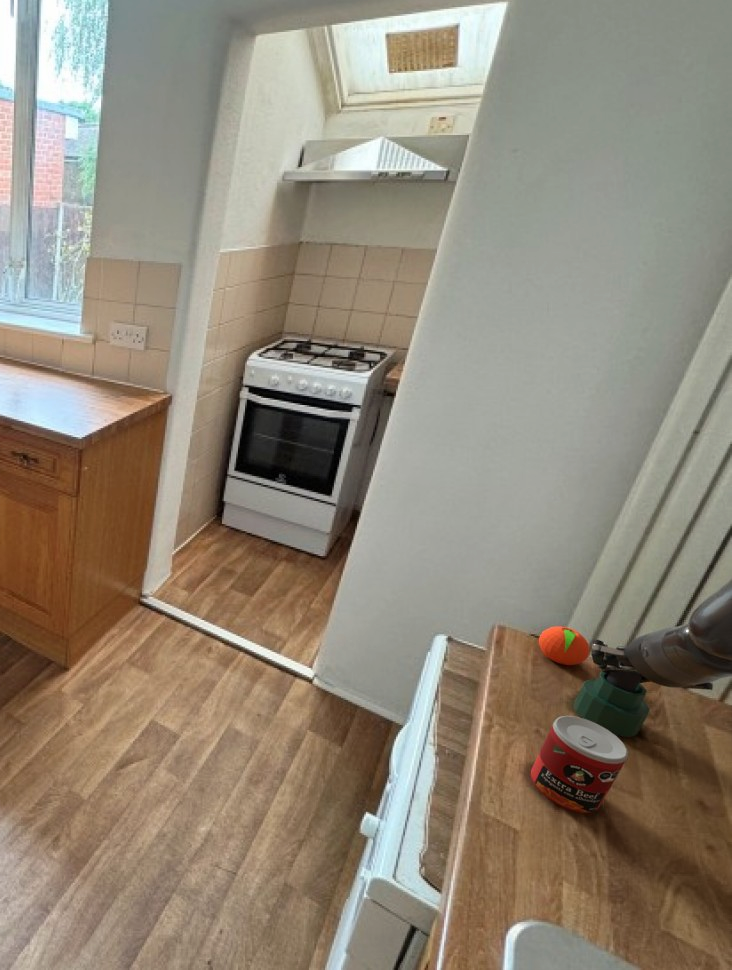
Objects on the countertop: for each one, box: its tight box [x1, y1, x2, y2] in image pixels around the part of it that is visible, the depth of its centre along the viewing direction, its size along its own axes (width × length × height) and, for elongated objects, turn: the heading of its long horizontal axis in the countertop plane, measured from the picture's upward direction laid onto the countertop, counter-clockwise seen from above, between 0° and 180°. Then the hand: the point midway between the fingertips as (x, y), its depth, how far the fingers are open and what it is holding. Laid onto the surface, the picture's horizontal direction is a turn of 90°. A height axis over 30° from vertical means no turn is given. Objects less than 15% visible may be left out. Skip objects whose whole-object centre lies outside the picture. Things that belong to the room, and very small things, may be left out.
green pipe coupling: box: [573, 671, 651, 738], centre depth 100 cm, size 8×8×8 cm
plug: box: [606, 670, 643, 693], centre depth 98 cm, size 3×3×8 cm
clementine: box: [538, 626, 591, 666], centre depth 113 cm, size 8×7×7 cm
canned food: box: [530, 715, 629, 814], centre depth 87 cm, size 8×8×11 cm
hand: (620, 671), depth 100 cm, fingers closed on plug, 3 cm apart
